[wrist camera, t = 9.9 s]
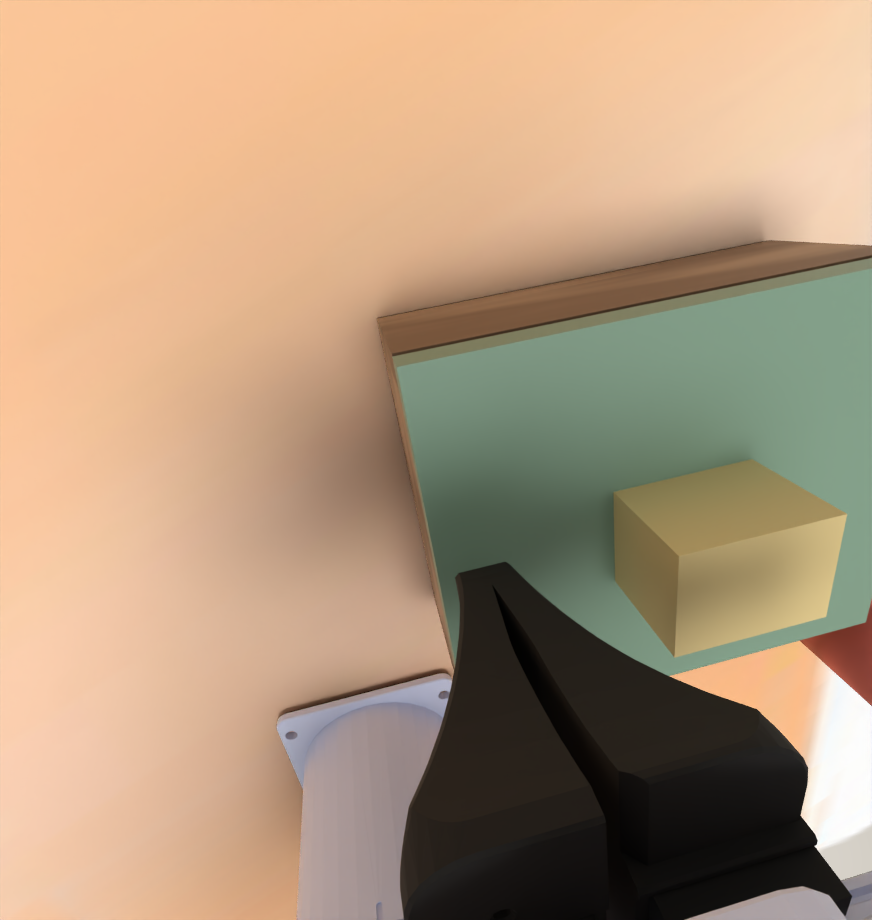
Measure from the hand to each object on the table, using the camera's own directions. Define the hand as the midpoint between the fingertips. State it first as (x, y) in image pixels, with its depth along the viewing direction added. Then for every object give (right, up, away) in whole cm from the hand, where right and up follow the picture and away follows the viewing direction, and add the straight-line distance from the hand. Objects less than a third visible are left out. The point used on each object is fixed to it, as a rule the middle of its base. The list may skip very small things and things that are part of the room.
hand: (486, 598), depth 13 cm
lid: (+5, +2, +2) cm, 6 cm away
